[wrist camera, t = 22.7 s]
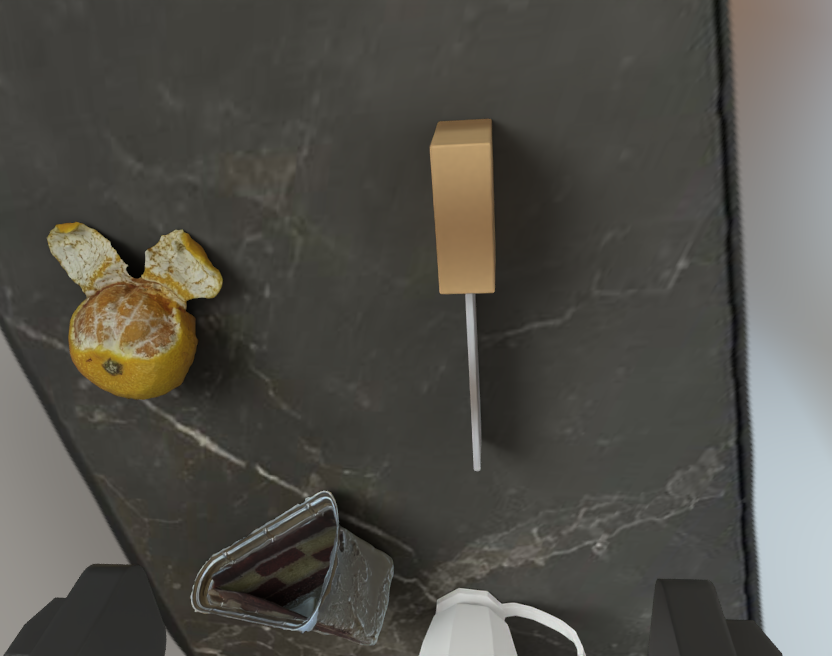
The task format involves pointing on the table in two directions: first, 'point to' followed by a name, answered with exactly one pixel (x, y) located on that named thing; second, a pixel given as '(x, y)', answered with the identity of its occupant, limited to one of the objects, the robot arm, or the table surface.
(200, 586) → the chocolate cake
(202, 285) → the fruit
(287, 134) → the table surface
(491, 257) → the knife
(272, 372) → the table surface
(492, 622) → the cup
